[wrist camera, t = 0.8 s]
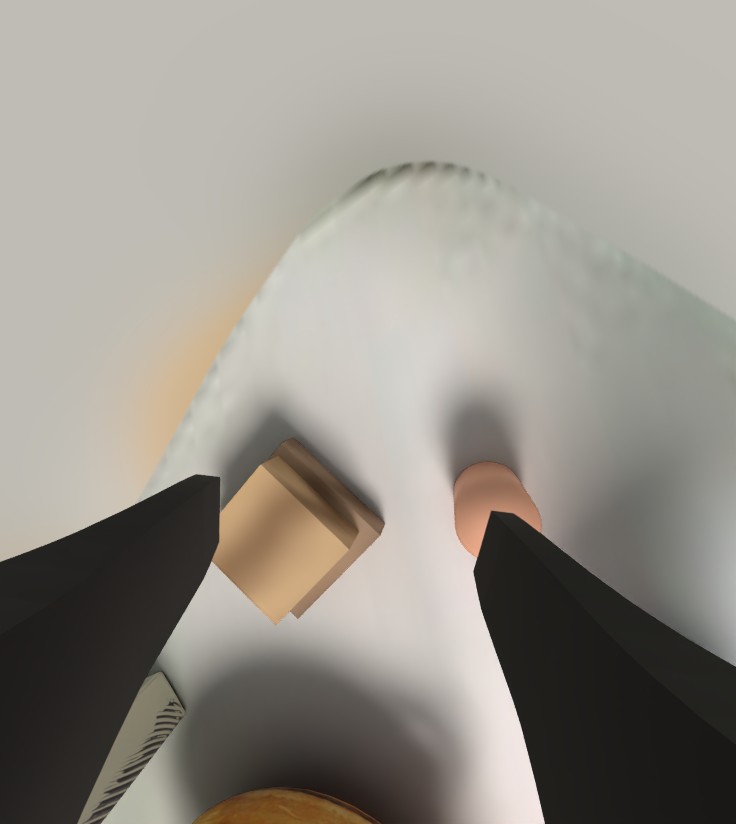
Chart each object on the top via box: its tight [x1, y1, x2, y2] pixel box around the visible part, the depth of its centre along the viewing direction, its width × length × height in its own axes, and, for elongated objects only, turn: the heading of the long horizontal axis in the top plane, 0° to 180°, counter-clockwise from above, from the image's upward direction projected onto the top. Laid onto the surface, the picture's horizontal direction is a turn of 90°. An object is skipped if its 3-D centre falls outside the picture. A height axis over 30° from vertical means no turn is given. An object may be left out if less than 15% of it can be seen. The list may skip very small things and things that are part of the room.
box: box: [77, 672, 185, 824], centre depth 26 cm, size 5×4×13 cm
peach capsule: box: [454, 462, 542, 558], centre depth 22 cm, size 4×4×5 cm
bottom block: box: [267, 438, 385, 619], centre depth 27 cm, size 9×9×2 cm
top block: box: [212, 455, 359, 625], centre depth 25 cm, size 8×8×2 cm
